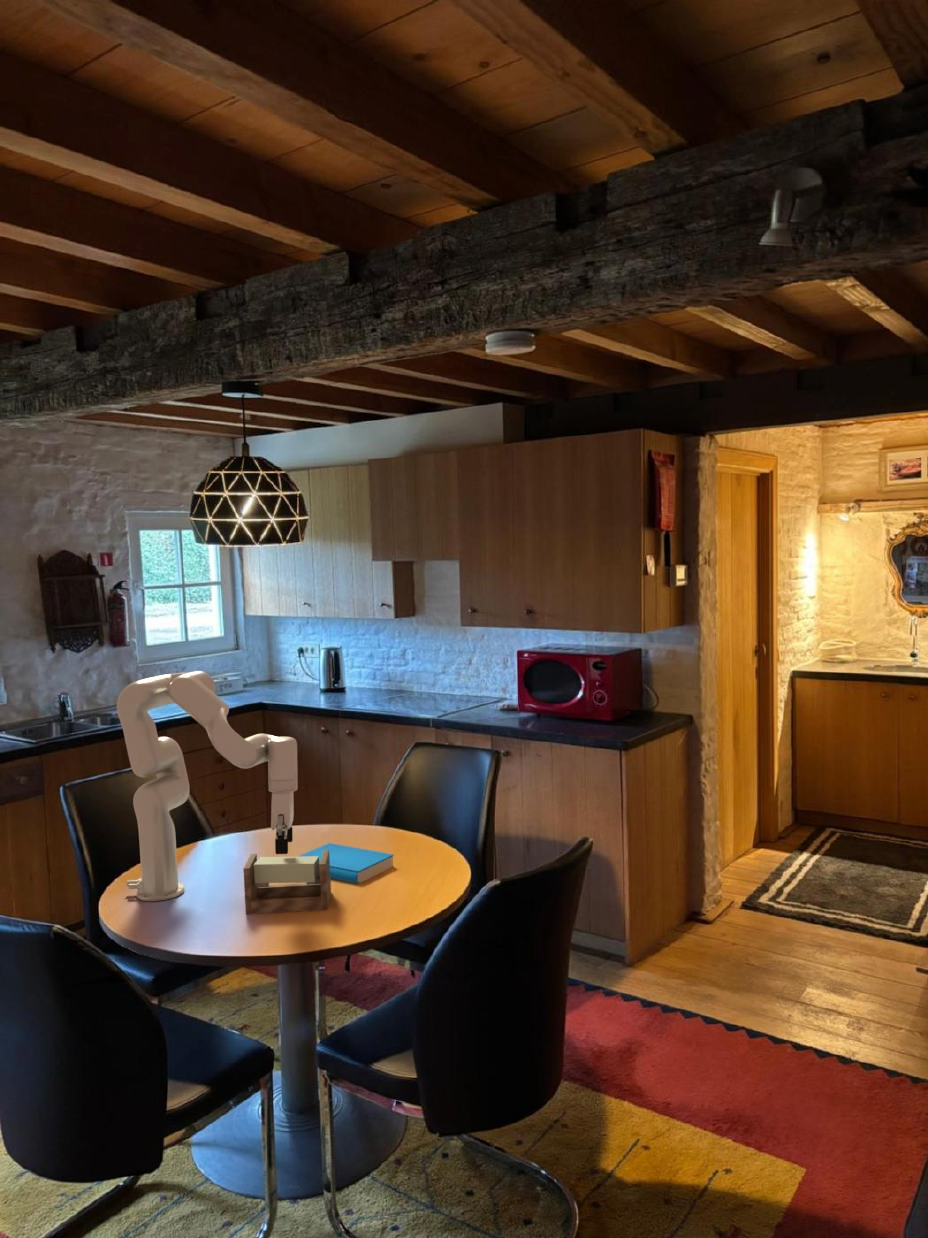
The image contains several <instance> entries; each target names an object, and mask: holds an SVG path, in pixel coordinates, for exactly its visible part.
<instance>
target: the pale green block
mask: <svg viewBox="0 0 928 1238" xmlns="http://www.w3.org/2000/svg"><path fill="white" fill-rule="evenodd" d="M319 875H320V869H319V856H302V857H297V856H260V857H258V858H257V861H256V862H255V864H254V880H255V883H269V884H288V883H289V884H304V883H307V882H315V881H316V880H317V878H318V877H319Z"/></svg>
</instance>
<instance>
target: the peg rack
mask: <svg viewBox="0 0 928 1238" xmlns="http://www.w3.org/2000/svg"><path fill="white" fill-rule="evenodd" d="M257 860H258V854H257V853H251V854H250V855H249V857H248V859H247V860H246V862H245V864H244V867H243V871H242V872H243V889H244V890H243V891H244V905H245V909H244V910H245V915H249V914H250V915H253V914H271V913H285V912H286V913H287V912H303V911H305V912H306V911H320V910H321V911H322V910H328V907H329V903H330V901H331V900H330V899H331V894H332V883H331V882H332V881H331V879H332V878H330V858H329V850H323V854H322V857H321V861H320V875H319V877H318V878H317V880H316V881H315V882H306V883H289V884H288V883H286V884H274V885H273V884H272V885H270V883H255V880H254V864H255V862H256V861H257Z"/></svg>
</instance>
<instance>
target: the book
mask: <svg viewBox="0 0 928 1238" xmlns="http://www.w3.org/2000/svg"><path fill="white" fill-rule="evenodd" d="M323 850H329V858H330V879H334V880H340V881H346V882H349V883H354V884H360V883H362V882H364V881H366V880H368V879H370V878H372V877H374V876H376V875H378V874H380V873H383V872H385V871H386V870H388V869H389V870H390V868H392V867H394V854H392V853H387V852H382V851H375V850H371V849H366V848H365V849H364V848H360V847H353V846H348V845H342V844H337V843H330V842H328V843H326V844H323V845H322V846H319V847H316V848H314V849H312V850H310V851H307V852H305V853H303V854H300V855H297V856H296V857H302V856H319V869H320V861H321V857H322V854H323Z"/></svg>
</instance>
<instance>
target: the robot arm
mask: <svg viewBox="0 0 928 1238" xmlns="http://www.w3.org/2000/svg"><path fill="white" fill-rule="evenodd" d="M215 692H216V683H215V680H214V678H213V677H212V676H211V675H210V674H209V673H207V672H205V671H202V670H195V671H187V672H178V673H177V672H175V673H168V674H167V673H166V674H160V675H156V676H152V677H147V678H143V679H139V680H136V681H133V682H131V683H129V684H128V685H127V686H126V687H124V688H123V689H122V690H121V691H120V694H119V695H118V698H117V700H116V701H117V702H116V710H117V711H116V712H117V715H118V718H119V721H120V725H121V727H122V731H123V736H124V743H125V745H126V746H125V747H126V750H127V751H126V752H127V756H128V760H129V763H130V767H131V770H132V772H133V774H134V775H136V776H137V777H138V778H139V777H140V778H149V777H152V776H156V778H154V779H152V780H150V781H147V782H145V783H144V784H142V785H140V786H139V787H138V788H137V790H136V791H135V792H134V795H133V801H132V802H133V803H132V806H133V809H134V813H135V817H136V820H137V829H138V841H139V856H140V871H141V872H140V873H141V874H140V875H141V877H140V878H138V879H127V880H126V888H128V890H135V889H137V891H136V897H137V899H138V900H141V901H145V902H159V901H164V900H169V899H173V898H175V897H178V896H180V895H181V894H183V893H184V891H185V885H184V884H183V883H182V882H181V883H180V882H179V874H178V872H179V871H178V860H177V859H178V858H177V857H178V856H177V839H176V828H175V824H174V821H173V819H172V817H171V814H170V811H171V810H173V809H176V808H178V807H179V806H182V805H183V804H184V803H186V802H187V800H188V798H189V796H190V782H189V777H188V772H187V768H186V763H185V759H184V754H183V751H182V748H181V747H180V745H179V743H178V742H177V741H176V740H175V739H173V738H172V737H168V736H159V735H158V732H157V731H158V730H157V726H156V723H155V721H154V719H153V718H152V716H151V715H150V714H149V711H150V710H153V709H156V708H157V709H158V708H161V707H164V706H167V705H172V704H176V705H177V706H179V708H180V709H181V710H183V711H184V712H185V713H186V714H187V715H189V716H191V718H193V719H194V720H195V721H196V722H197V723H198V724H200V725H201V726H202V727H203V728H204V729H205V730H206V733H207V735H208V738H209V740H210V742H211V745H212V746H213V747H214V749H215V750H216V751H217V753H219V754H220V755H221V756H222V757H223V758H225V759H226V760H227V761H228V762H230V763H231V764H232V765H234V766H235V767H238V768H240V769H243V770H244V769H247V770H248V769H250V768H253V767H255V766H258V765H261V764H263V763H266V762H268V764H267V766H268V771H267V773H268V778H267V779H268V791H269V792H271V803H270V804H271V807H270V809H271V811H270V813H271V814H270V815H271V816H270V819H271V820H270V830H272V831H274V830H275V839H274V845H275V846H274V847H275V848H274V850H275V855H288V853H289V843H292V842H293V840H294V839H293V835H294V834H293V822H294V815H295V814H294V811H295V810H294V808H295V805H294V804H295V803H294V792H296V791H298V787H299V786H298V785H299V784H298V781H299V780H298V742H297V740H296V738H294V737H293V736H292V737H291V736H275V735H272V734H267V733H257V734H253V735H251V736H248V737H245V738H244V737H242V736H241V735H240V734H239V733H237V732H236V731H235V730H234V729H233V728H232V726H230V724H229V722H228V720H227V719H228V718H227V716H228V714H229V711H230V707H229V705H228V703H227V702H226V701H225V700H223V699H222V698H221V697H219V696H218V694H216V693H215Z"/></svg>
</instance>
